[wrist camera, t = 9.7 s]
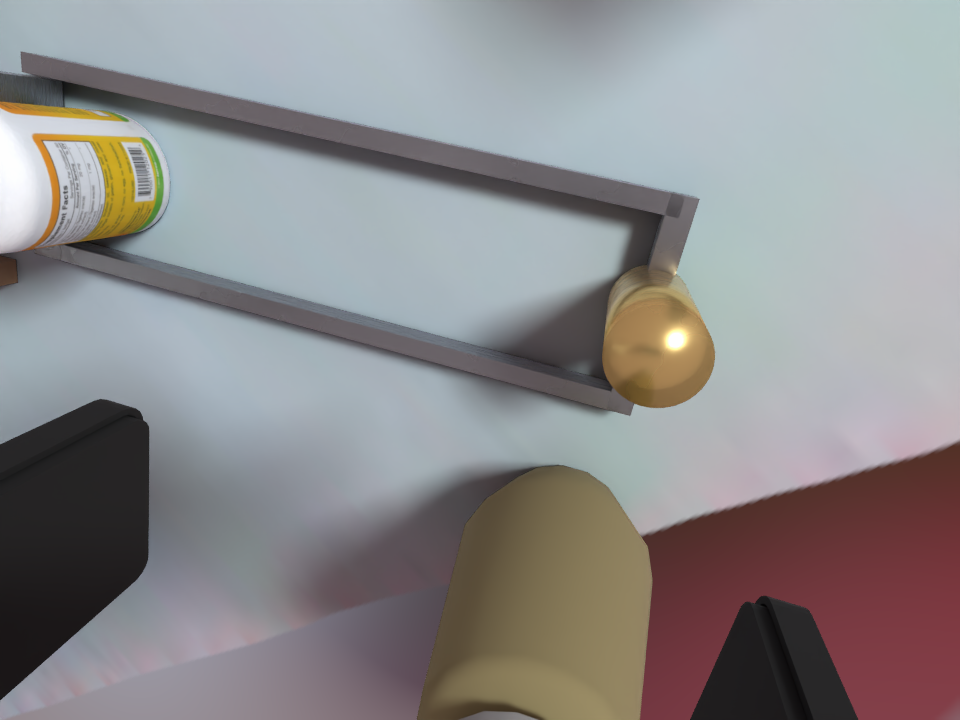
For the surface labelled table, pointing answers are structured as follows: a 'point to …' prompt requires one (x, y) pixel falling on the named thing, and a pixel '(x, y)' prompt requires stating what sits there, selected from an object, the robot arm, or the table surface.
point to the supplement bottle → (76, 176)
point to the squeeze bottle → (543, 607)
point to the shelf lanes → (8, 271)
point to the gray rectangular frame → (626, 349)
